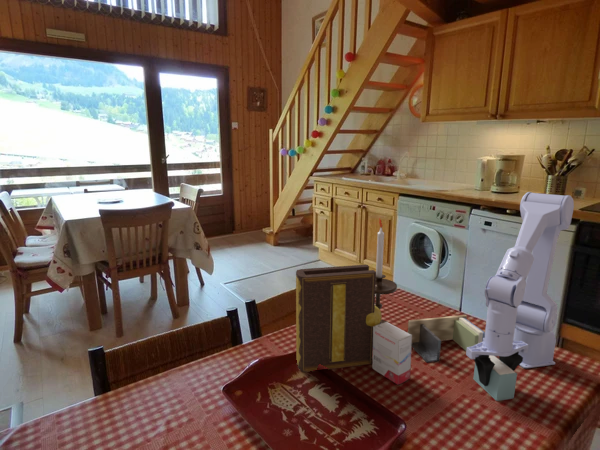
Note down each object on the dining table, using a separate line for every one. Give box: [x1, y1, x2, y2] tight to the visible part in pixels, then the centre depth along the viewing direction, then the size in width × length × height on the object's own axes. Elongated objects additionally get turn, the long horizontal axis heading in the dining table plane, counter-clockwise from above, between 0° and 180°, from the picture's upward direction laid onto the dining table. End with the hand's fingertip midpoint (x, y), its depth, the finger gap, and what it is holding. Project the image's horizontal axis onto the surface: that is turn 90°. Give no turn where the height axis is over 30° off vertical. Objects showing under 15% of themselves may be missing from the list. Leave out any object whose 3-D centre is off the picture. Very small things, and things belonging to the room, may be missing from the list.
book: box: [295, 264, 382, 373], centre depth 95 cm, size 22×8×25 cm, turn 102°
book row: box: [452, 318, 485, 351], centre depth 103 cm, size 3×9×7 cm, turn 11°
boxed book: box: [472, 355, 518, 402], centre depth 86 cm, size 4×8×6 cm, turn 11°
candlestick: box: [375, 217, 398, 325], centre depth 112 cm, size 11×11×35 cm
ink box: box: [372, 321, 412, 386], centre depth 91 cm, size 9×5×12 cm, turn 33°
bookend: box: [411, 324, 442, 363], centre depth 101 cm, size 4×9×6 cm, turn 11°
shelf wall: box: [407, 314, 468, 343], centre depth 107 cm, size 18×1×7 cm, turn 101°
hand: (493, 382), depth 86 cm, fingers open, 5 cm apart
